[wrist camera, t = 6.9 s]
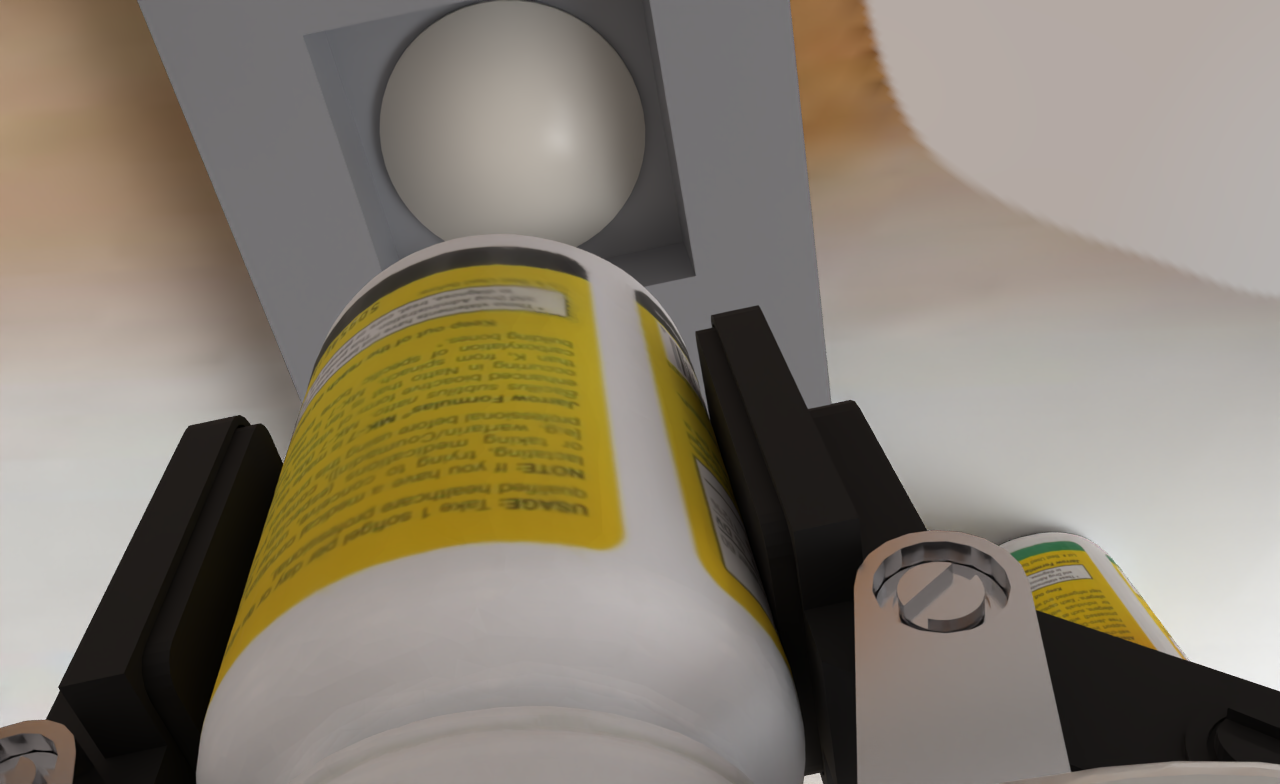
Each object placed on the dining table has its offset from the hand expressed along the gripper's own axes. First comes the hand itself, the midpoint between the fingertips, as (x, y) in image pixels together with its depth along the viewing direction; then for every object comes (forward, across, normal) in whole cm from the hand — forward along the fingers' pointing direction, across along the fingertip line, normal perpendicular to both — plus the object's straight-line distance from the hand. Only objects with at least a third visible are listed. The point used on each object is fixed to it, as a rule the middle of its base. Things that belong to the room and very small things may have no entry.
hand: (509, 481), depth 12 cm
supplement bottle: (+2, 0, 0) cm, 2 cm away
